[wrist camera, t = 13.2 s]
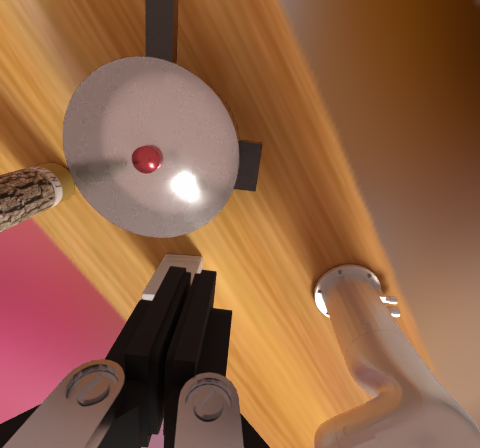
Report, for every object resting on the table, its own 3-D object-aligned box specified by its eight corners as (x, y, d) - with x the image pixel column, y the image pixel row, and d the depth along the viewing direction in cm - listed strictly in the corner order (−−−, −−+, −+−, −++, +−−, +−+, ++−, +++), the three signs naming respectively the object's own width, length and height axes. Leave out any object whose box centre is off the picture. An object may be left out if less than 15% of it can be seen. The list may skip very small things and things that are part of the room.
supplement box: (164, 252, 54) (140, 292, 43) (203, 255, 54) (189, 296, 43) (166, 285, 57) (143, 330, 45) (202, 288, 57) (190, 334, 45)
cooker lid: (250, 71, 31) (249, 67, 28) (229, 242, 39) (227, 254, 36) (60, 47, 31) (38, 39, 28) (78, 222, 39) (62, 233, 36)
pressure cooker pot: (278, 7, 39) (288, -33, 28) (249, 211, 50) (248, 240, 39) (111, -15, 39) (55, -64, 28) (120, 194, 50) (82, 219, 39)
